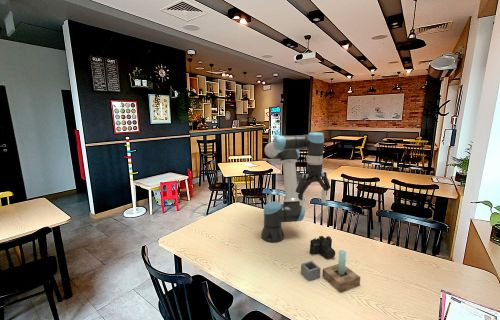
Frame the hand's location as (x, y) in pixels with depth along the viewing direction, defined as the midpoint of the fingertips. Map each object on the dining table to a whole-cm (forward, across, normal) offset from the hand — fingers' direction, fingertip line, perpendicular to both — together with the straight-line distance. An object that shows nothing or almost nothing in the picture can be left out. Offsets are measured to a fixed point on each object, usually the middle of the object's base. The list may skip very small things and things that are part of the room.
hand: (312, 203), depth 121 cm
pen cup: (+35, -6, -8) cm, 36 cm away
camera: (+35, +13, +4) cm, 37 cm away
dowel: (+35, +5, -17) cm, 39 cm away
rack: (+35, +5, -17) cm, 39 cm away
